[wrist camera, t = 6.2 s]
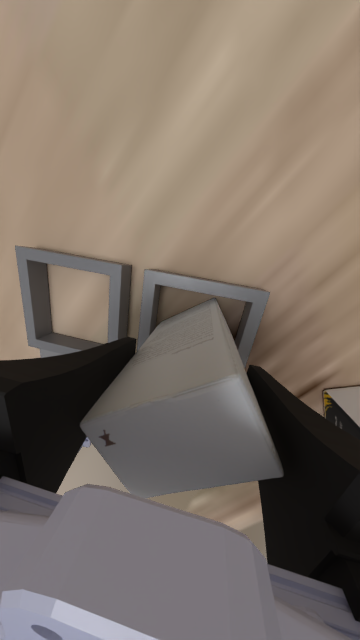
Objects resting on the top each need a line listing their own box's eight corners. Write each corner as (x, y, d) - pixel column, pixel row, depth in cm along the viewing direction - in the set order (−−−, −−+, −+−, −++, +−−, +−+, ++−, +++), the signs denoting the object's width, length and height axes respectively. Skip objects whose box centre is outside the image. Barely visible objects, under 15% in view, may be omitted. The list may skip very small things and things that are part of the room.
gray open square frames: (226, 400, 19) (228, 415, 17) (46, 356, 21) (31, 364, 19) (262, 289, 15) (270, 292, 13) (36, 247, 17) (14, 245, 15)
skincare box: (179, 356, 18) (131, 503, 7) (160, 321, 17) (70, 424, 6) (234, 335, 17) (291, 483, 5) (216, 295, 16) (238, 370, 4)
